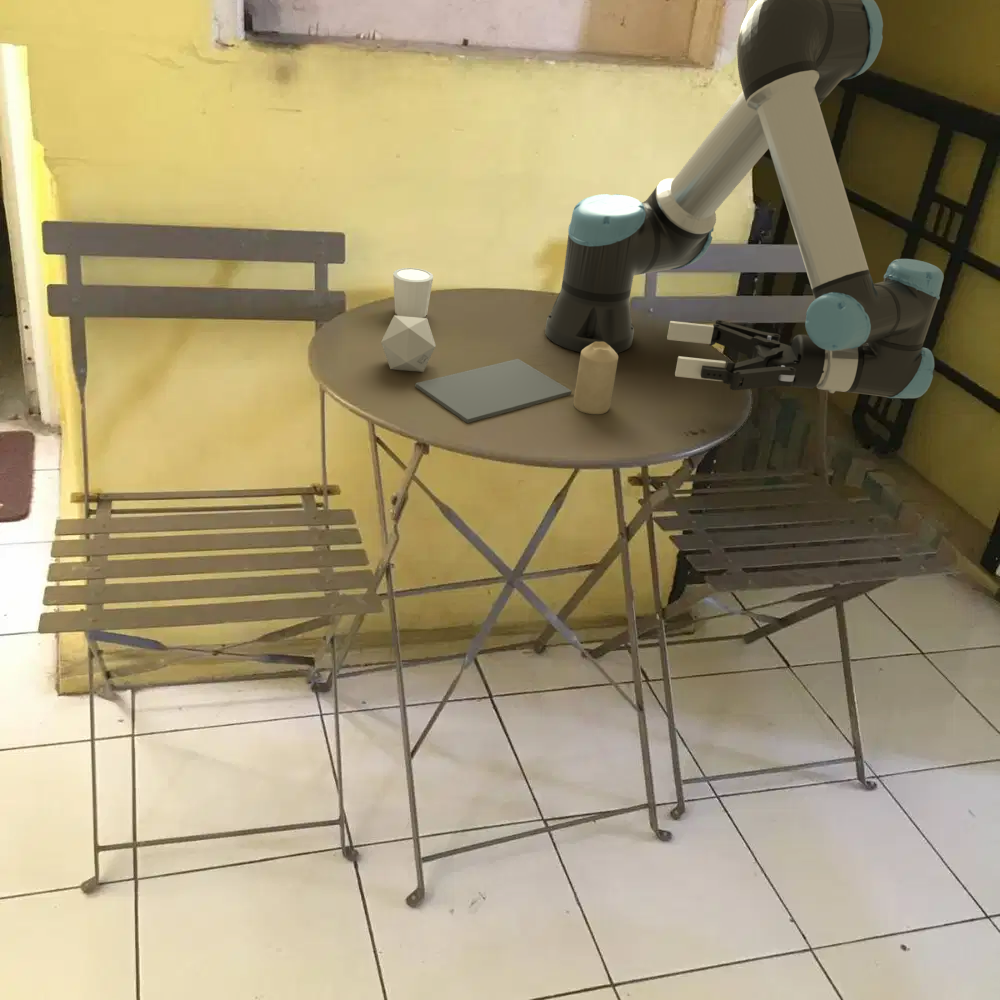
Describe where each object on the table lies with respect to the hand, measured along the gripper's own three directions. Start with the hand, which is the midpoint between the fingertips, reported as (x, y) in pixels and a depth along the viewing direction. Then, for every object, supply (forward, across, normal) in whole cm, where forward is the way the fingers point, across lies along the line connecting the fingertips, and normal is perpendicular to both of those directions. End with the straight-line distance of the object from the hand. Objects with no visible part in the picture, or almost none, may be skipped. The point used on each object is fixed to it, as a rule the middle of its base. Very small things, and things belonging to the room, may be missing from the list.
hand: (672, 347), depth 147 cm
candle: (+10, +1, -11) cm, 15 cm away
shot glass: (+41, +29, -10) cm, 52 cm away
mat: (+25, +2, -11) cm, 27 cm away
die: (+39, +7, -11) cm, 41 cm away
